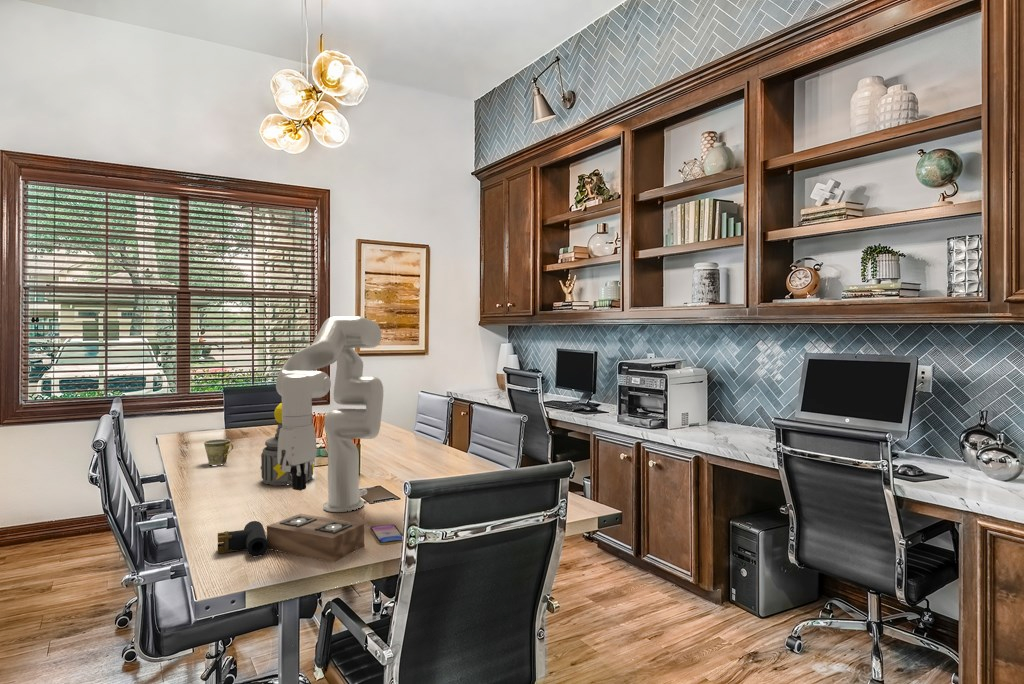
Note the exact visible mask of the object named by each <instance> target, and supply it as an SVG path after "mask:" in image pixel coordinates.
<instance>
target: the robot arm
mask: <svg viewBox="0 0 1024 684" xmlns="http://www.w3.org/2000/svg"><path fill="white" fill-rule="evenodd" d="M381 339H382V330H381V327H380V325H379V324H378V323H377V322H376V321H373V320H371V319H369V318H366V317H363V316H330V317H328V318H327V319H325V320H324V322H323V324H322V325H321V327H320V329H319V331H318V333H317V335H316V336H315V338H314V340H313V342H312V344H311V345H308V346H306V347H305V348H303V349H301V350H299V351H298V352H296V353H294V354H293V355H292V356H290V357H289V358H287V360H286V361H285V362H284V364H283V366H282V367H281V369H280V370H279V372H278V375H277V377H276V381H275V389H276V392H277V393H278V394H279V396H281V403H282V428H280V432H279V438H278V453H277V459H278V464H279V465H282V471H284V472H289V473H290V475H292V485H291V486H292V490H295V491H303V490H306V489H307V482H306V474H307V472H308V467H309V466H310V465H311V464H313V463H315V461H316V460H315V459H316V458H317V448H318V447H317V438H316V430H315V425H314V424H313V418H314V414H313V404H312V400H313V399H321V398H323V397H325V396H326V395H327V394H328V393H329V392H330V389H331V385H332V382H331V381H332V380H331V378H330V376H329V375H328V374H327V373H326V372H325V371H321V370H317V369H322V368H324V367H328V366H330V365H333V364H334V363H335V362H336V369H335V370H336V371H335V379H334V385H333V400H334V402H335V404H337V405H340V406H357V407H358V406H360V407H362V406H364V407H365V408H335V409H332V410H330V411H329V412H327V414H325V417H324V420H323V422H324V423H323V426H324V432H325V436H326V444H327V487H328V488H327V489H328V490H327V494H328V495H327V499H328V500H327V501H326V502H324V503H323V506H322V507H323V510H324V511H327V512H332V513H345V512H346V513H348V512H352V510H354V511H356V509H357V510H359V509H358V508H360V509H361V507H362V506H363V505H364V506H365V501H364V500H362V499H361V497H362V496H365V495H367V494H368V490H367V488H362V489H360V480H359V479H360V478H359V477H360V476H359V473H360V472H359V471H360V469H359V467H360V466H359V450H358V447H357V445H356V444H355V442H354V439H355V440H356V439H357V440H360V439H361V440H370V439H375V438H377V437H378V435H379V433H380V430H381V424H382V423H381V422H382V412H383V404H384V403H383V402H384V386H383V382H382V380H381V379H380V378H379V377H375V376H363V374H364V373H363V371H364V361H363V359H362V358H361V356H360V355H359V353H358V352H357V351H356V350H355V349H354V348H357V349H359V348H360V349H364V348H365V349H372V348H373V349H374V348H376V347H377V346H378V345H380V343H381ZM364 506H363V507H364ZM363 507H362V508H363ZM347 511H348V512H347Z"/></svg>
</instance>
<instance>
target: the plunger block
mask: <svg viewBox="0 0 1024 684" xmlns="http://www.w3.org/2000/svg"><path fill="white" fill-rule="evenodd" d="M297 518H304V519H306V521H305V522H303V523H300V524H298V525H297V524H295V523H290V521H291V520H293V519H297ZM331 524H340V525H342V527H341V528H339V529H337V530H334V531H333V530H329V529H326V526H328V525H331ZM266 538H267V542H268V550H270V549H273V550H272V551H274V550H278V551H277V552H279V551H281V552H280V553H284V552H286V553H285V554H289V553H290V554H291V555H296V556H300V557H305V558H309V559H314V560H319V559H320V560H321V561H324V562H330V563H334V562H337V561H338V560H340V559H344V558H345V557H347V556H349V555H350V553H351V554H353V553H354V551H355V552H357V551H358V549H359V550H360V548H361V549H362V547H363V548H364V547H365V523H361V522H355V521H349V520H342V519H336V518H331V517H330V518H329V517H324V516H319V515H313V514H312V515H311V514H306V513H298V514H295V515H293V516H290V517H287V518H284V519H282V520H279V521H276V522H274V523H272V524H269V525H267V526H266ZM356 550H357V551H356ZM352 552H353V553H352ZM348 554H349V555H348ZM346 555H347V556H346Z"/></svg>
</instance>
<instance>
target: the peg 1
mask: <svg viewBox="0 0 1024 684" xmlns="http://www.w3.org/2000/svg"><path fill="white" fill-rule="evenodd" d="M305 521H306V519H304V518H297V519H293V520H291V521H290V523H295V524H297V525H298V524H300V523H303V522H305Z"/></svg>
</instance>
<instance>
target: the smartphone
mask: <svg viewBox="0 0 1024 684" xmlns="http://www.w3.org/2000/svg"><path fill="white" fill-rule="evenodd" d="M369 531H370V533H371V532H372V533H371V534H372V536H373V535H374V536H373V537H374V539H375V540H376V542H377V544H378V545H379V544H380V545H379V546H388V545H394V544H401V542H402V535H403V533H402V532H401V531H400V529H399V528H398V526H396V525H395V524H383V525H375V526H373V525H372V526H370V527H369ZM402 543H403V542H402Z"/></svg>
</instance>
